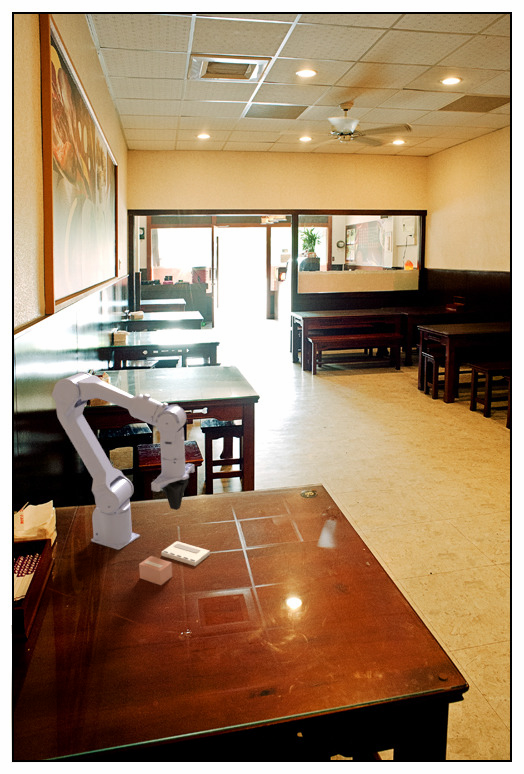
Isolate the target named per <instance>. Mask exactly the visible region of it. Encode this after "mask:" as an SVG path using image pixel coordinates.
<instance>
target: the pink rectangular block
mask: <svg viewBox="0 0 524 774" xmlns="http://www.w3.org/2000/svg"><path fill="white" fill-rule="evenodd" d="M138 565H139V567H138V569H139V577H140V579H142V580H145V581H148V582H150V583H152V584H155V585H156V584H157V585H159V586H162V585H164V584H165V583H166V582H167V581H169V580H170V579H171V578H173V563H172V562H171V561H169V560H165V559H162V558H159V557H156V556H153V555H150V556H149V557H148V558H146V559H144V560H142V562H140V563H138Z"/></svg>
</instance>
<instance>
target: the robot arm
mask: <svg viewBox="0 0 524 774" xmlns="http://www.w3.org/2000/svg"><path fill="white" fill-rule="evenodd" d="M51 397H52V398H53V400H54V402H55V407H56V415H57V419H58V420H59V422H60V425H61V426H62V428H63V429H64V430H65V433H66V435H67V436H68V438H69V440H70V442H71V443H72V445H73V447H74V448H75V451H77V454H78V455H79V457H80V459H81V460H82V462H83V464H84V466H85V467H86V469H87V471H88V473H89V474H90V477H92V486H91V492H92V494H93V496H94V501H95V502H94V503H95V505H96V507H95V508H94V510H93V512H92V516H91V519H92V522H91V523H92V531H93V532H92V533H93V538H91V540H90V541H91V542H92V543H96V544H98V545H102V546H105V547H109V548H112V549H115V550H121V549H122V548H125V546H127V545H129V544H131V543H132V542H134V541H135V540H137V539H138V538H140V534H138V533H135V532H133V530H132V526H133V525H132V511H131V503H130V502H131V501H130V498H131V497H132V495H133V494H134V485H133V483H132V481H131V480H130V479H129V478H127V477H126V476H125V475H124V473H123V472H122V470H120V469H117V468H115V467H113V465H112V463H111V462H110V459H109V458H108V457H107V455H106V453H105V450H104V449H103V448H102V445H101V444H100V442H99V441H98V438H97V436H96V435H95V434H94V431H93V430H92V429H91V427H90V425H89V423H88V422H87V420H86V418H85V416H84V415H83V412H84V409H85V406H86V404H87V402H88V400H93V399H99V400H103V401H104V402H108V403H111V404H113V405H116V406H118V407H121V408H124V409H127V410H128V412H129V415H130V416H131V417H133V418H135V419H138V420H140V421H142V422H145V423H147V424H150V425H152V426H154V427H155V428H156V430H157V431H158V433H159V437H160V438H159V439H160V441H159V443H160V462H161V463H160V464H161V465H160V466H161V473H160V474H159V475H158V476H157V478H156V479H155V480H154V481H152V482H151V483H150V485H151V491H153V492H160V491H161V490H162V491H163V493H164V495H165V496H166V499H167V501H168V504H169V507H170V509H172V510H176V511H178V510H179V509H181V506H182V500H183V496H184V493H185V491H186V488H187V487H188V485H189V478H190V474H191V473H194V472H196V471H195V464H193V463H189V462H188V463H186V452H185V430H184V425H185V424H186V421H187V413H186V411H185V410H184V409H183V408H182V406H179V405H178V404H170V405H169V403H167V402H161V401H159V400H156V399H155V398H151V394H148V393H145V394H142V393H140V394H137V395H132V394H131V393H128V392H126V391H124V390H122V389H121V388H119V387H116V386H114V385H113V384H110V383H108V382H106V381H104V380H102V379H101V378H100V377H99V376H97V375H94V374H91V373H89V372H87V371H86V372H85V371H80V372H76V374H73V375H71V376H69V377H66V378H62V379H59V380H58V381H57V382H56V383H55V384H54V386H53V390H52V392H51Z"/></svg>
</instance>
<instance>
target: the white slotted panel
mask: <svg viewBox="0 0 524 774" xmlns="http://www.w3.org/2000/svg"><path fill="white" fill-rule="evenodd" d="M210 555H211V551H210V550H208V549H205V548H202V547H198V546H196V545H191V544H188V543H184V542H181V541H178V540H176V541H175V542H173V543H172V544H170V545H168V546H167V547H166V548H165V549H163V550H162V551H161V556H162V557H165V558H168V559H172V560H175V561H178V562H180V563H181V562H182V563H185V564H188V565H191V566H193V567H196V566H198V565H199V564H200V563H201V562H203V560H205V559H206V558H207V557H208V556H210Z"/></svg>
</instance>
